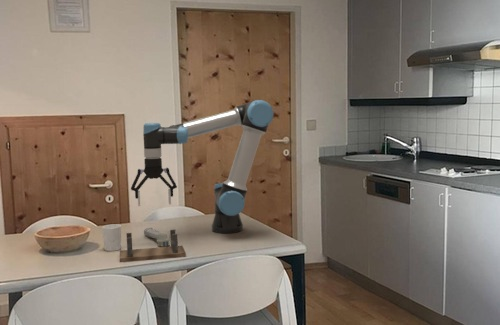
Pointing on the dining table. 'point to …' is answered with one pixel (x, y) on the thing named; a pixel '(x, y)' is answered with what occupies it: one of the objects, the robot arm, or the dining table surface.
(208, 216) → the dining table surface
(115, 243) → the white cup
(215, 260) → the dining table surface
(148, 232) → the grey handled tool
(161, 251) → the hook board
